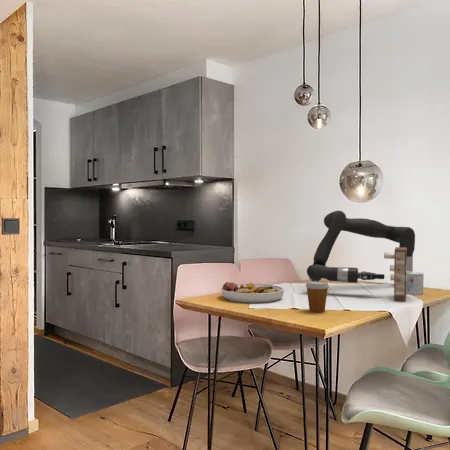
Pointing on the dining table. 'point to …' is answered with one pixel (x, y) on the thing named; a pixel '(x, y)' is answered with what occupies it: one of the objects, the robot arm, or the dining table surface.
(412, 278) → the light bulb box
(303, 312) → the dining table surface
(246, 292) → the bowl
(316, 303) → the disposable coffee cup
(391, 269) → the middle button
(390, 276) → the bottom button
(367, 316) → the dining table surface
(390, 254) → the top button
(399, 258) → the wooden peg board
